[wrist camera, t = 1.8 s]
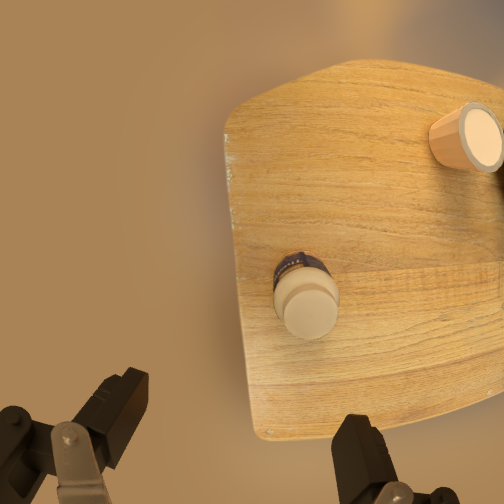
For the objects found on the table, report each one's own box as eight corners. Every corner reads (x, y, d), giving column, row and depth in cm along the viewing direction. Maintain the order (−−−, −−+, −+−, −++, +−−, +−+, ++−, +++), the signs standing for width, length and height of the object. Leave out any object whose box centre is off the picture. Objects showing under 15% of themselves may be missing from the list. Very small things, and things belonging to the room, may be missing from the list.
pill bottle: (291, 238, 28) (301, 265, 19) (335, 266, 29) (362, 303, 19) (263, 283, 30) (258, 327, 20) (306, 308, 30) (318, 359, 20)
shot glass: (470, 175, 25) (508, 176, 18) (426, 171, 26) (462, 170, 19) (465, 118, 24) (501, 108, 17) (420, 110, 24) (453, 94, 17)
